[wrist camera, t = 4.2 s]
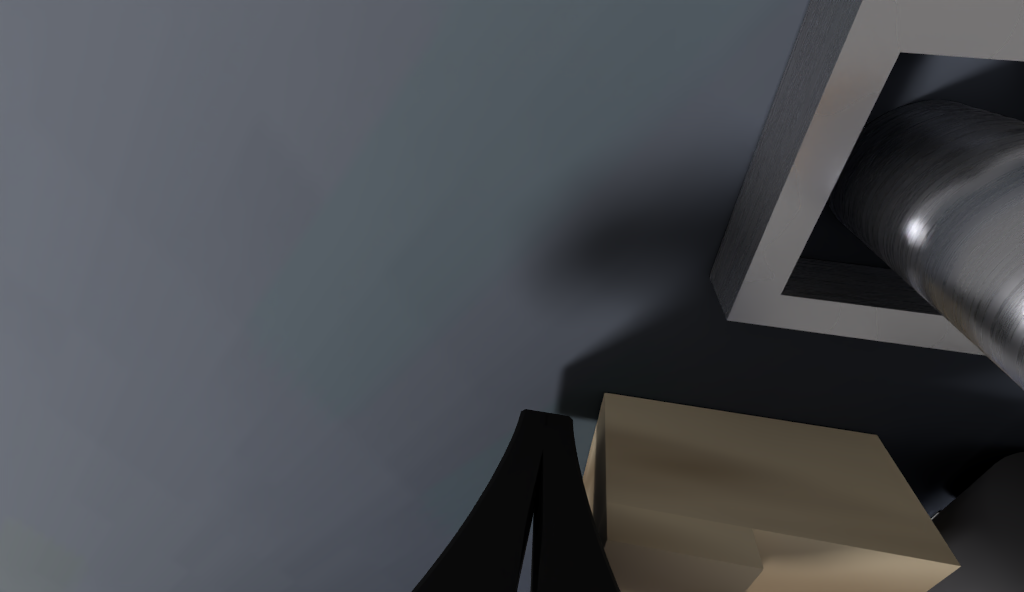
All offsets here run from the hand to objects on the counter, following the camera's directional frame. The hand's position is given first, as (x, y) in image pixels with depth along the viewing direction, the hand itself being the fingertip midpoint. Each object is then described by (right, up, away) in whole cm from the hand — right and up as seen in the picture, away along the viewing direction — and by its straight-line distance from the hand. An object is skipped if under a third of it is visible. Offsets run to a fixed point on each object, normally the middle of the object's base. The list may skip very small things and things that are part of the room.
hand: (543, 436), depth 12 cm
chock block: (+5, -1, +1) cm, 5 cm away
